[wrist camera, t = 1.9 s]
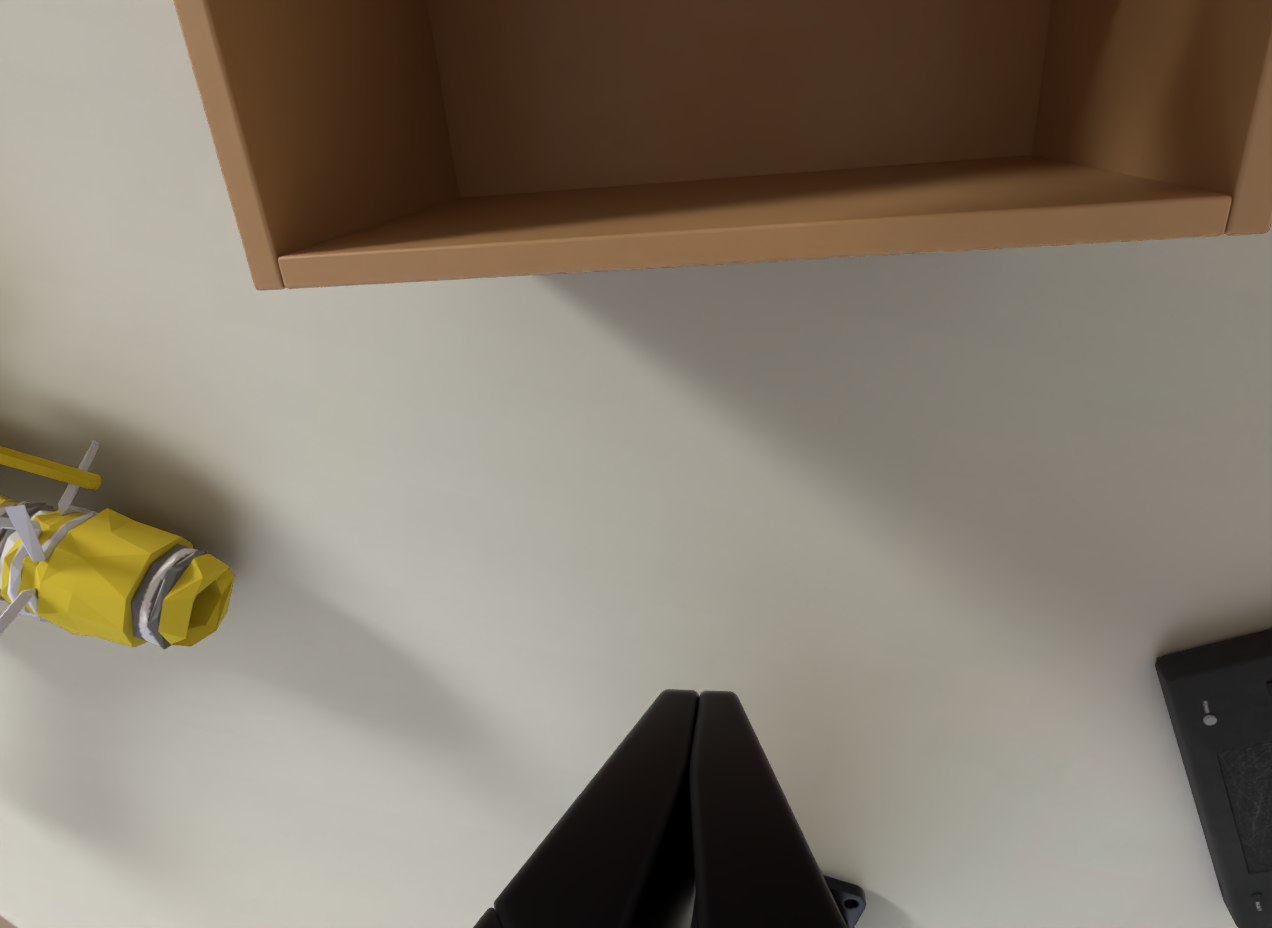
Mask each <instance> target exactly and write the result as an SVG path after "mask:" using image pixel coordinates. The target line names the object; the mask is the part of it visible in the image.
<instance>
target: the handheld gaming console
mask: <svg viewBox="0 0 1272 928" xmlns="http://www.w3.org/2000/svg"><path fill="white" fill-rule="evenodd" d="M1155 666H1156V670H1157V674H1158V677H1159V681H1160V684H1161V688H1162V691H1163V694H1164V698H1165V701H1166V705H1167V708H1168V712H1169V715H1170V718H1171V722H1172V725H1173V729H1174V732H1175V736H1176V739H1177V742H1178V746H1179V749H1180V753H1181V756H1182V760H1183V763H1184V766H1185V770H1186V773H1187V777H1188V780H1189V784H1190V787H1191V790H1192V794H1193V797H1194V801H1195V804H1196V808H1197V811H1198V814H1199V818H1200V821H1201V825H1202V828H1203V831H1204V835H1205V838H1206V842H1207V845H1208V849H1209V852H1210V855H1211V859H1212V862H1213V866H1214V869H1215V872H1216V876H1217V879H1218V883H1219V886H1220V890H1221V893H1222V897H1223V900H1224V902H1225V905H1226V906H1227V908H1228V910H1229V912H1230V914H1231V916H1232V918H1233V920H1234V922H1235V924H1236V925H1237V927H1238V928H1272V630H1268V631H1264V632H1260V633H1255V634H1251V635H1247V636H1243V637H1239V638H1235V639H1231V640H1227V641H1223V642H1219V643H1215V644H1211V645H1207V646H1203V647H1199V648H1195V649H1191V650H1186V651H1182V652H1178V653H1174V654H1170V655H1166V656H1163V657H1161V658H1157V661H1156V663H1155Z"/></svg>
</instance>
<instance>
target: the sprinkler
mask: <svg viewBox="0 0 1272 928" xmlns="http://www.w3.org/2000/svg"><path fill="white" fill-rule="evenodd" d="M99 446H100V444H98V443H97V442H95V441H93V442H92V443H91V445H90V447H89V449H88V450H87V452H86V454H85V456H84V458H83V459H82V461H81V463H80V465H79V467H78V468H74V467H70V466H67V465H63V464H60V463H57V462H53V461H50V460H46V459H43V458H40V457H36V456H33V455H29V454H26V453H23V452H19V451H16V450H12V449H9V448H6V447H2V446H0V464H2V465H6V466H9V467H13V468H16V469H20V470H23V471H27V472H30V473H34V474H37V475H41V476H45V477H48V478H52V479H55V480H59V481H62V482H66V483H69V484H68V486H67V488H66V490H65V492H64V493H63V495H62V497H61V499H60V501H59V502H58V508H59V510H56V509H54V508H53V506H46V504H45V503H32V502H26V501H23V502H20V501H17V500H13V499H10V498H7V497H4V496H1V495H0V600H6V601H7V602H8V603H9V604H10V606H9V607H8V608H7V609H6V611H5V612H4V613H3V614H2V615H1V616H0V635H1V634H2V633H3V632H4V630H5V629H6V628H7V627H8V626H9V624H10V623H11V622H12V621H13V620H14V618H15V617H16V616H17V615H18V614H19V615H27V616H35V617H38V619H39V620H40V621H43V622H52V623H54V624H56V625H58V626H60V627H62V628H63V629H65V630H67V631H69V632H71V633H72V634H78V635H87V636H96V637H99V638H103V639H106V640H110V641H113V642H117V643H120V644H124V645H127V646H131V647H135V646H138V645H141V644H143V643H146V642H151V643H153V644H156V645H158V646H161V647H162V648H163V649H166V648H167V647H169V646H171V645H182V646H193V645H194V644H196V643H197V642H199V641H200V640H202V639H204V638H205V637H207V636H208V635H210V634H211V633H213V632H214V631H216V630H217V628H218V626H219V624H220V623H221V621H222V619H223V618H224V616H225V614H226V613H227V610H228V605H229V600H230V596H231V591H232V586H233V581H234V577H235V575H234V574H233V573H232V572H231V571H230V570H229V567H230V566H228V565H227V564H225V563H223V562H222V561H220V560H218V559H217V558H215V557H213V556H212V555H210V554H207V553H206V552H205V551H202V550H199V549H198V550H196V549H194V548H193V545H192V543H190V542H189V541H187V540H186V539H184V538H183V537H181V536H178V535H175V534H172V533H169V532H166V531H163V530H160V529H158V528H155V527H152V526H149V525H146V524H143V523H140V522H137V521H134V520H132V519H130V518H128V517H126V516H124V515H121V514H119V513H117V512H115V511H113V510H111V509H109V508H106V509H104V510H103V511H101V512H100V513H98V512H95V511H92V510H89V509H85V508H81V507H77V506H73V505H71V503H72V501H73V499H74V497H75V495H76V493H77V491H78V489H79V487H83V488H87V489H96V490H98V488H99V487H100V485H101V482H102V478H101V477H100V476H99V475H98V474H94V473H91V472H87V471H88V469H89V467H90V465H91V463H92V460H93V458H94V456H95V454H96V452H97V450H98V448H99Z"/></svg>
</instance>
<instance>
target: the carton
mask: <svg viewBox="0 0 1272 928" xmlns="http://www.w3.org/2000/svg"><path fill="white" fill-rule="evenodd" d="M173 1H174V5H175V8H176V12H177V15H178V19H179V22H180V26H181V29H182V33H183V36H184V40H185V43H186V47H187V50H188V54H189V57H190V61H191V64H192V68H193V71H194V75H195V78H196V82H197V86H198V89H199V93H200V96H201V100H202V103H203V107H204V110H205V114H206V117H207V121H208V124H209V128H210V131H211V135H212V138H213V142H214V145H215V149H216V152H217V156H218V159H219V163H220V166H221V170H222V173H223V177H224V180H225V184H226V187H227V191H228V194H229V198H230V201H231V205H232V208H233V212H234V215H235V219H236V222H237V226H238V229H239V233H240V236H241V240H242V243H243V247H244V250H245V254H246V257H247V261H248V264H249V268H250V271H251V275H252V278H253V282H254V285H255V288H256V289H257V290H260V291H261V290H278V289H284V288H289V289H296V288H314V287H331V286H349V285H366V284H384V283H402V282H419V281H437V280H455V279H472V278H490V277H507V276H525V275H543V274H560V273H578V272H595V271H613V270H631V269H648V268H666V267H684V266H701V265H719V264H736V263H754V262H772V261H789V260H807V259H825V258H842V257H860V256H877V255H895V254H913V253H930V252H948V251H966V250H983V249H1001V248H1018V247H1036V246H1054V245H1071V244H1089V243H1107V242H1124V241H1142V240H1159V239H1177V238H1195V237H1212V236H1220V235H1223V234H1225V235H1229V236H1230V235H1248V234H1263V233H1266V232H1268V231H1269V229H1270V225H1271V221H1272V0H173Z"/></svg>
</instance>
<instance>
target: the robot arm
mask: <svg viewBox="0 0 1272 928" xmlns="http://www.w3.org/2000/svg"><path fill="white" fill-rule="evenodd" d="M865 906H866V901H865V894H864V891H863V889H861V888H860V887H859V886H857V885H854V884H851V883H847V882H844V881H841V880H837V879H834V878H830V877H827V876H823V875H822V873H821V871H820V869H819V867H818V865H817V863H816V860H815V858H814V856H813V854H812V852H811V850H810V848H809V846H808V844H807V842H806V839H805V837H804V835H803V833H802V831H801V829H800V827H799V825H798V823H797V820H796V818H795V816H794V814H793V812H792V810H791V808H790V806H789V804H788V802H787V799H786V797H785V795H784V793H783V791H782V789H781V787H780V785H779V783H778V780H777V778H776V776H775V774H774V772H773V770H772V768H771V766H770V764H769V762H768V759H767V757H766V755H765V753H764V751H763V749H762V747H761V745H760V743H759V740H758V738H757V736H756V734H755V732H754V730H753V728H752V726H751V724H750V722H749V719H748V717H747V715H746V713H745V711H744V709H743V707H742V705H741V703H740V700H739V698H738V697H737V695H736V694H735V693H733V692H730V691H703V692H702V693H701V695H700V697H699V695H698V693H697V692H696V691H694V690H674V689H668V690H665V691H663V692H662V693H661V694H660V695H659V696H658V698H657V699H656V700H655V701H654V703H653V704H652V705H651V706H650V708H649V709H648V710H647V711H646V713H645V714H644V715H643V716H642V718H641V719H640V720H639V721H638V723H637V724H636V725H635V726H634V728H633V729H632V730H631V731H630V733H629V734H628V735H627V736H626V738H625V739H624V740H623V741H622V743H621V744H620V745H619V746H618V748H617V749H616V750H615V751H614V753H613V754H612V755H611V756H610V758H609V759H608V760H607V761H606V763H605V764H604V765H603V766H602V768H601V769H600V770H599V771H598V773H597V774H596V775H595V776H594V778H593V779H592V780H591V781H590V783H589V784H588V785H587V786H586V788H585V789H584V790H583V791H582V793H581V794H580V795H579V796H578V798H577V799H576V800H575V801H574V803H573V804H572V805H571V806H570V808H569V809H568V810H567V811H566V813H565V814H564V815H563V816H562V818H561V819H560V820H559V821H558V823H557V824H556V825H555V826H554V828H553V829H552V830H551V831H550V833H549V834H548V835H547V836H546V838H545V839H544V840H543V841H542V843H541V844H540V845H539V846H538V848H537V849H536V850H535V851H534V853H533V854H532V855H531V856H530V858H529V859H528V860H527V861H526V863H525V864H524V865H523V866H522V868H521V869H520V870H519V871H518V873H517V874H516V875H515V876H514V878H513V879H512V880H511V881H510V883H509V884H508V885H507V887H506V888H505V889H504V890H503V892H502V893H501V894H500V895H499V897H498V898H497V899H496V900H495V902H494V908H495V909H494V908H489V909H488V910H487V911H486V912H485V913H484V915H483V916H482V917H481V918H480V920H479V921H478V922H477V924H476V925H475V926H474V927H473V928H854V926H855V924H856V923H857V921H858V919H859V918H860V916H861V914H862V912H863V911H864V909H865Z"/></svg>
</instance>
